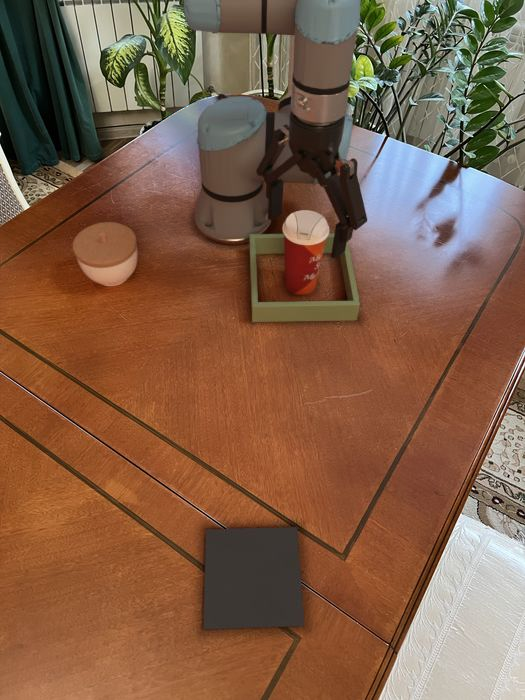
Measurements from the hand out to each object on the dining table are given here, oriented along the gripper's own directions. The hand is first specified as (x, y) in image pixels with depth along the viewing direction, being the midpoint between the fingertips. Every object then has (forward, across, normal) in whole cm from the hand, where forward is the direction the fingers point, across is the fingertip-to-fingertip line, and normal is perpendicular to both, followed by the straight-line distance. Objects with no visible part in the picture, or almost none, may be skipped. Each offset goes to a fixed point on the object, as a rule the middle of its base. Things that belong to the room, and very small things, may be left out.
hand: (305, 234), depth 94 cm
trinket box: (+12, -26, -22) cm, 36 cm away
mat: (+12, +29, -43) cm, 53 cm away
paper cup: (+12, 0, 0) cm, 12 cm away
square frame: (+12, 0, 0) cm, 12 cm away
